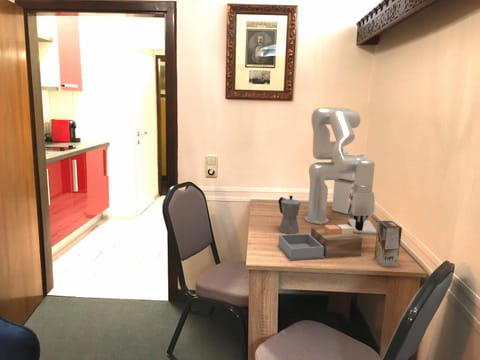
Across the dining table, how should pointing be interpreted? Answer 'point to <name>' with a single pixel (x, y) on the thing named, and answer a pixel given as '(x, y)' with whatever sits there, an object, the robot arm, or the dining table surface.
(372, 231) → the washcloth
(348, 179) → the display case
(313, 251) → the box
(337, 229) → the tile
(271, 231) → the dining table surface
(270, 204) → the dining table surface
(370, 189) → the robot arm
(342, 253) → the block
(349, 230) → the tile
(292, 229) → the coffeepot
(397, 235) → the coffee box
